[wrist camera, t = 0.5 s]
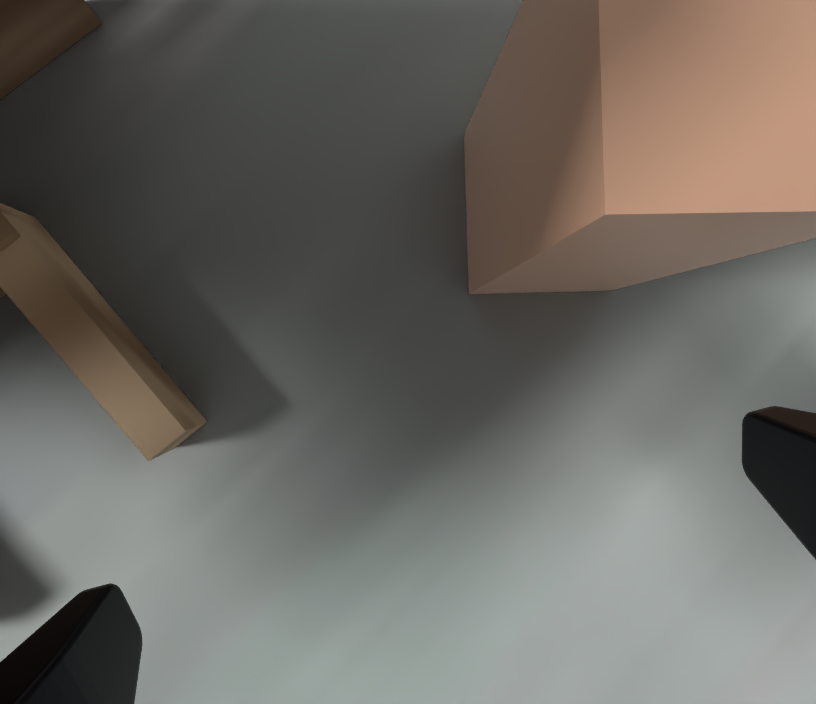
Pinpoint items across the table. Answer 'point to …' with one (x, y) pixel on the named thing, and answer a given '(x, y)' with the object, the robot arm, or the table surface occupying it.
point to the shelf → (63, 281)
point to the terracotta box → (640, 142)
